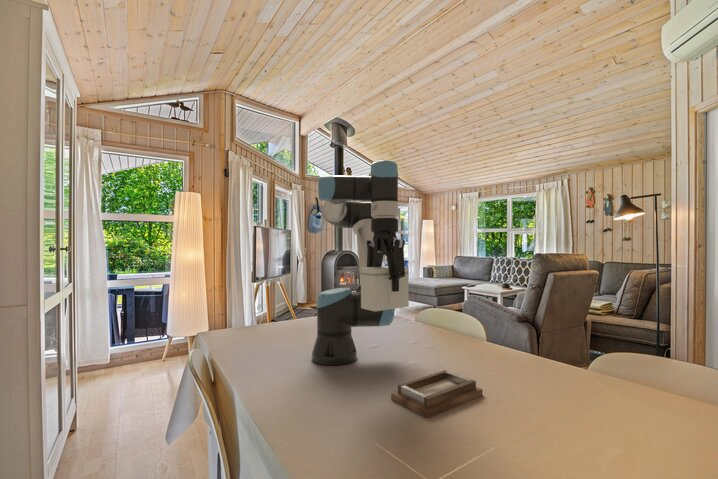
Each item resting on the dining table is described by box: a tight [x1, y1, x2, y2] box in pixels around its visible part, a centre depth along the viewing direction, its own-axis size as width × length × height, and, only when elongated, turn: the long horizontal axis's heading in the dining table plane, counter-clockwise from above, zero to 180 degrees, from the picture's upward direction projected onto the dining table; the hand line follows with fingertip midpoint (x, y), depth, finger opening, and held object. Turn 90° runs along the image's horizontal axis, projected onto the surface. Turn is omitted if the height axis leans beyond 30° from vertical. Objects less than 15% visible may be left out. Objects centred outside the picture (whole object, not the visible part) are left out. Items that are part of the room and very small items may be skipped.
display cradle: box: [390, 369, 484, 419], centre depth 89 cm, size 12×20×4 cm, turn 126°
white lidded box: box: [361, 265, 410, 311], centre depth 97 cm, size 6×12×11 cm, turn 126°
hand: (385, 301), depth 97 cm, fingers closed on white lidded box, 6 cm apart
